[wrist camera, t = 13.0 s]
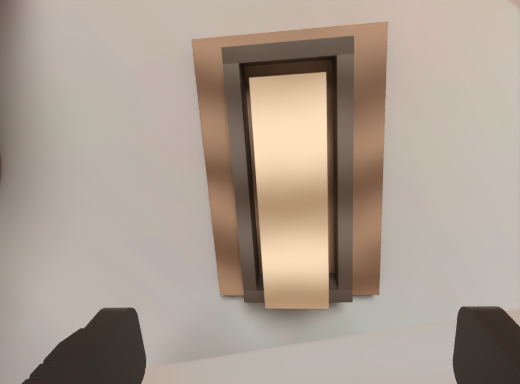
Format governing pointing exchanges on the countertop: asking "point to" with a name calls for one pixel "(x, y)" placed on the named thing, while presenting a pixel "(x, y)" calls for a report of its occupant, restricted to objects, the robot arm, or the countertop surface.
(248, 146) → the cradle jig
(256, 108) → the tan rectangular block
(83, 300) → the countertop surface
